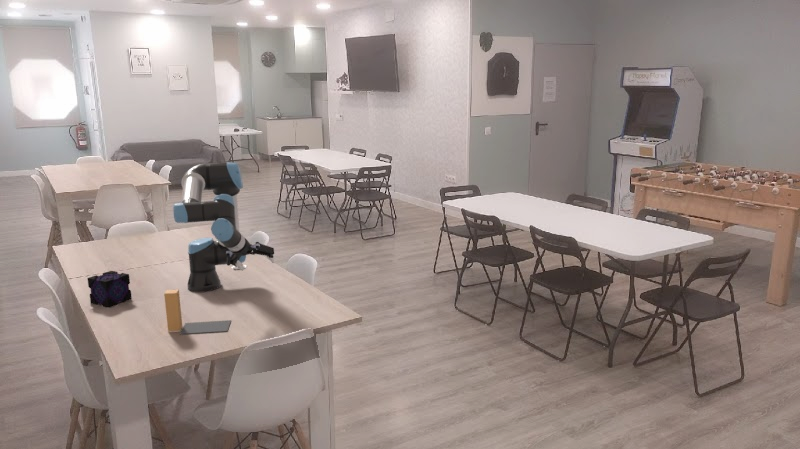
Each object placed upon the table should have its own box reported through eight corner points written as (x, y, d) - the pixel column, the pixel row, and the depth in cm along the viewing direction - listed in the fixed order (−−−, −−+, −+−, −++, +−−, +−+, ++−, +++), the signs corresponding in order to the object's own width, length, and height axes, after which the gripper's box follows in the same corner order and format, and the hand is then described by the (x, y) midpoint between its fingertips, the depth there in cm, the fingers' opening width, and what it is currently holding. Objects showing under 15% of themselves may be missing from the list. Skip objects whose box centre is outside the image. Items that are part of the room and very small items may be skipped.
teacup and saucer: (236, 271, 315) (236, 263, 314) (227, 268, 320) (226, 261, 319) (249, 267, 322) (249, 259, 321) (240, 264, 327) (239, 257, 326)
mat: (179, 334, 234) (179, 333, 234) (185, 323, 244) (185, 322, 244) (227, 331, 236) (227, 330, 236) (230, 321, 247) (230, 320, 247)
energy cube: (114, 295, 279) (111, 270, 276) (131, 299, 274) (128, 274, 271) (90, 303, 269) (87, 278, 266) (108, 307, 263) (105, 281, 261)
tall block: (168, 332, 236) (164, 293, 233) (170, 327, 241) (166, 289, 237) (180, 331, 237) (176, 293, 233) (182, 327, 241) (178, 289, 238)
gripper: (206, 259, 234) (230, 278, 252) (267, 244, 232) (286, 264, 251) (206, 242, 237) (229, 262, 256) (266, 227, 235) (285, 248, 254)
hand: (257, 263), depth 253 cm, fingers open, 13 cm apart
